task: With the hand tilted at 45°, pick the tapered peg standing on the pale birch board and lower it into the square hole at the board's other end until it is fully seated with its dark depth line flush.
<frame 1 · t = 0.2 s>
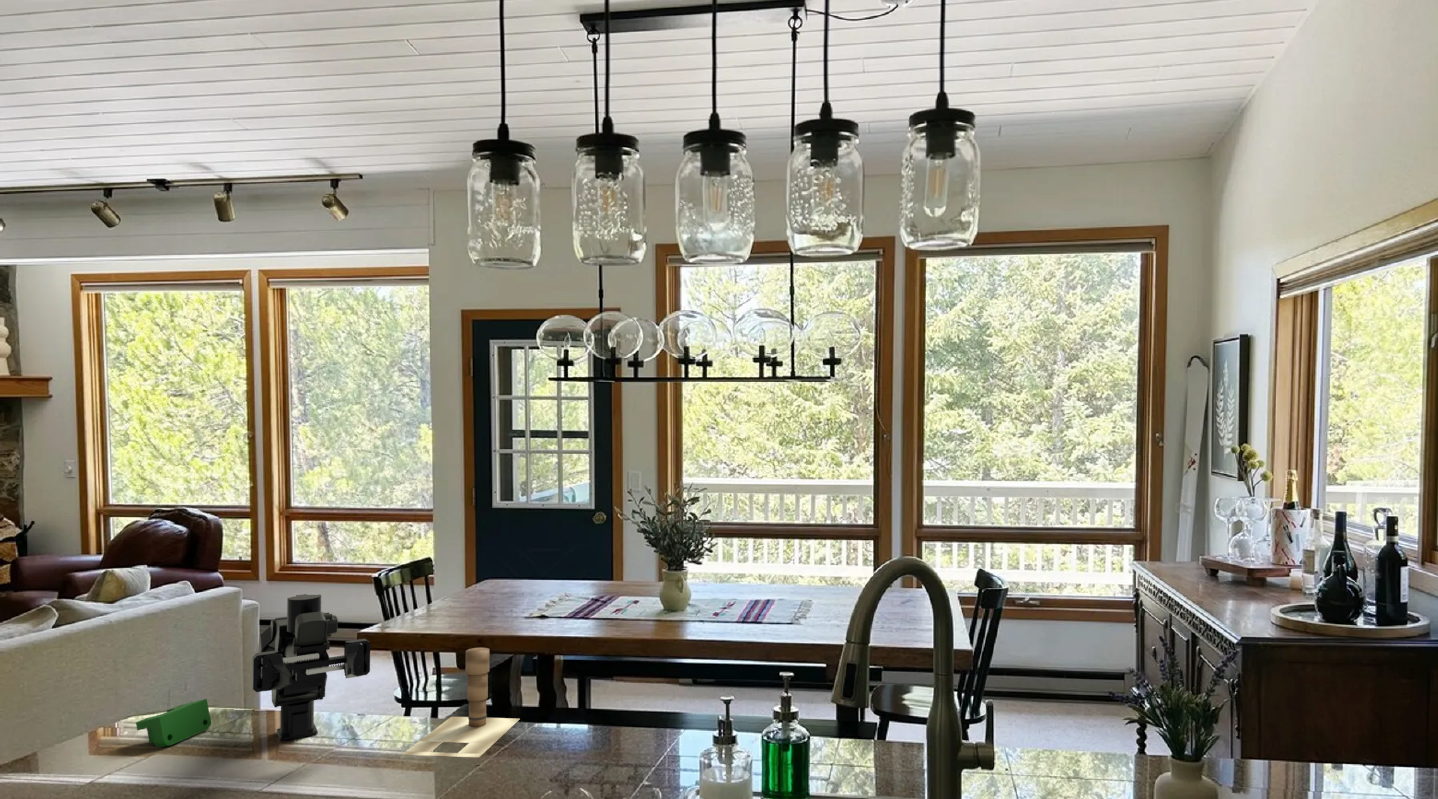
hand: (321, 675, 142), 17 cm above the counter, tool horizontal, fingers open, 9 cm apart
peg: (477, 724, 162), point 1 cm above the counter, touching board
board: (464, 743, 156), on the counter
green mounting bracket: (173, 739, 160), on the counter
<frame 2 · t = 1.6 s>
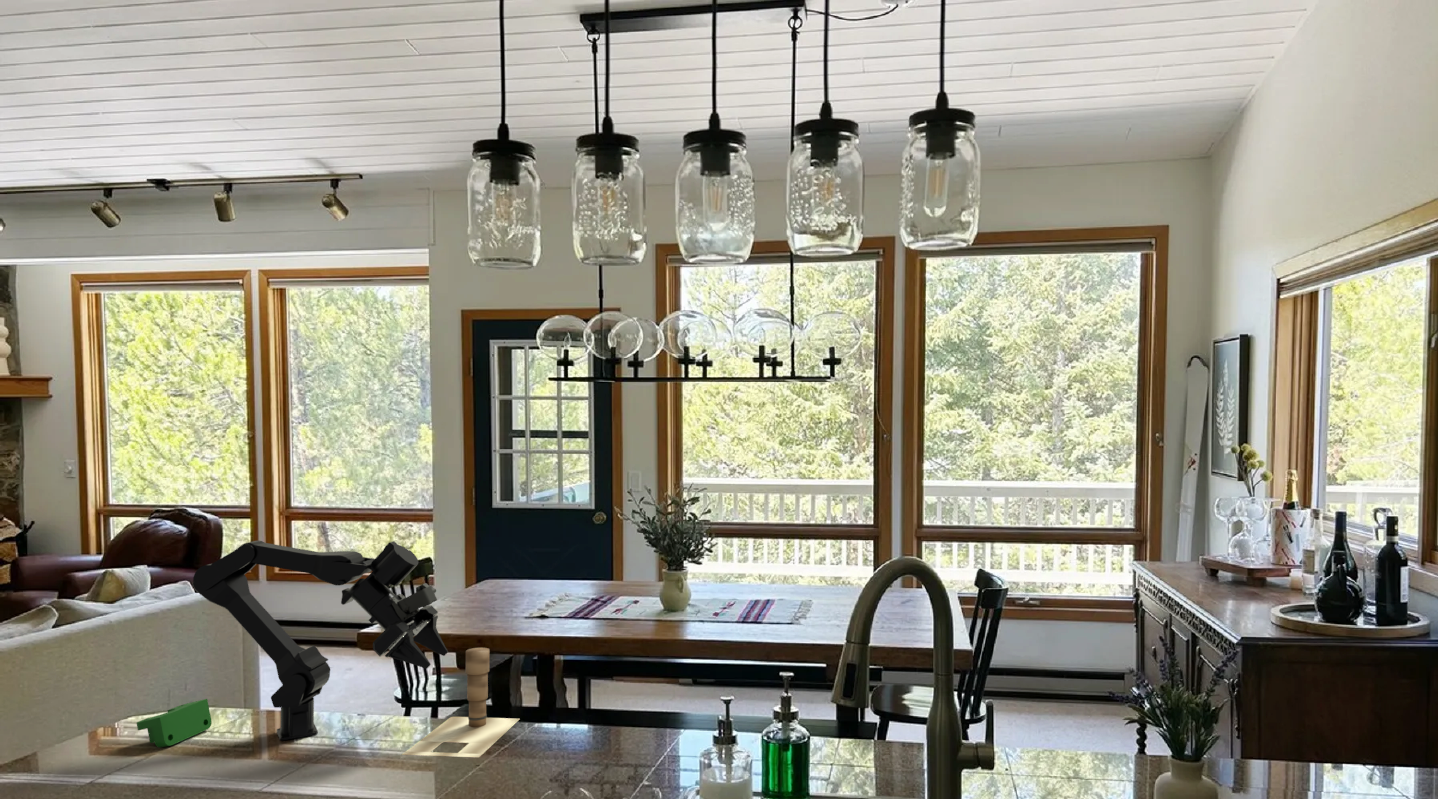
hand: (437, 660, 162), 14 cm above the counter, tool tilted 45°, fingers open, 9 cm apart
nothing on the counter moved.
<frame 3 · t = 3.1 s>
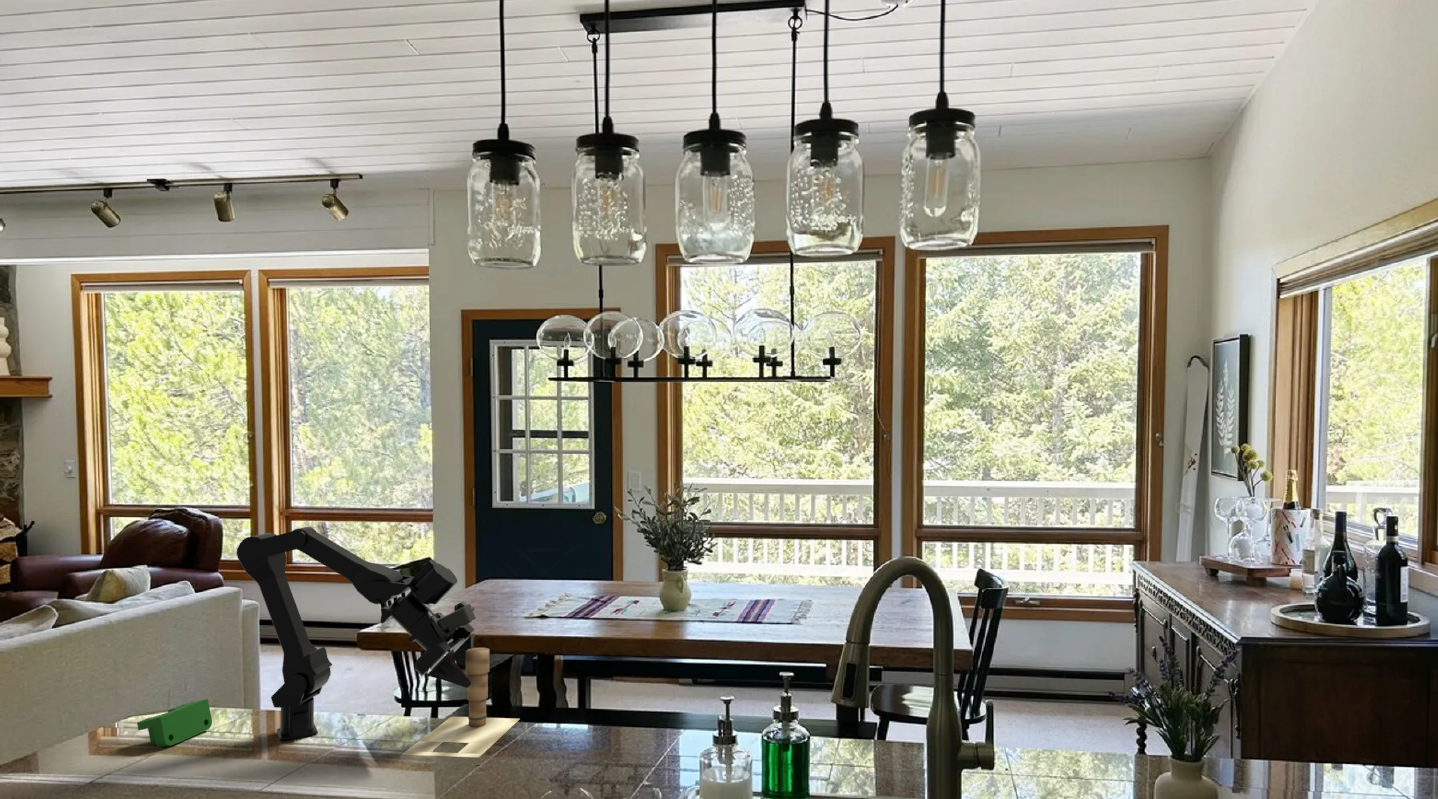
hand: (476, 678, 162), 10 cm above the counter, tool tilted 45°, fingers open, 9 cm apart
nothing on the counter moved.
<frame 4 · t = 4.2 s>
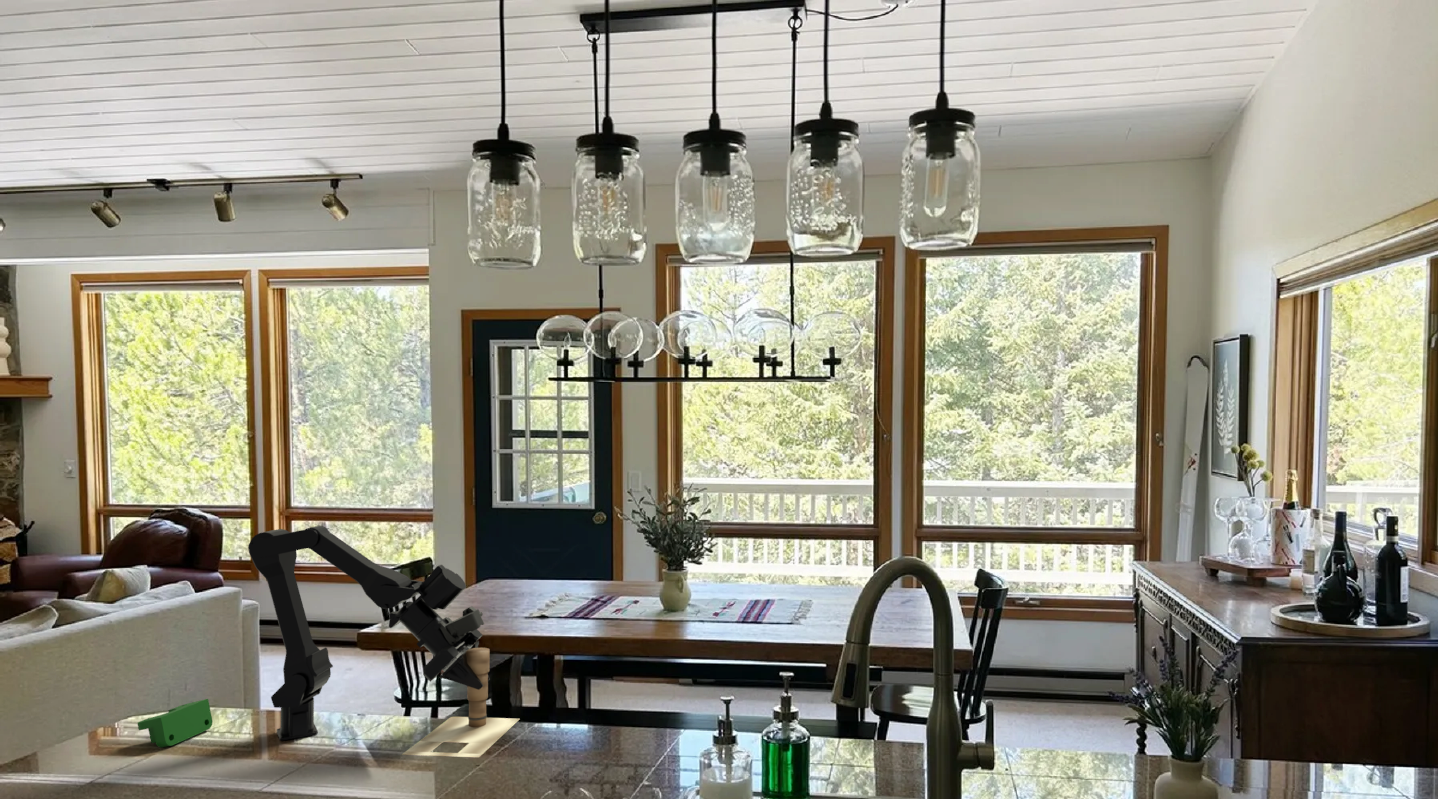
hand: (484, 684, 162), 9 cm above the counter, tool tilted 45°, fingers closed on peg, 4 cm apart
peg: (477, 724, 162), point 2 cm above the counter, touching board, gripper
everything else where it was.
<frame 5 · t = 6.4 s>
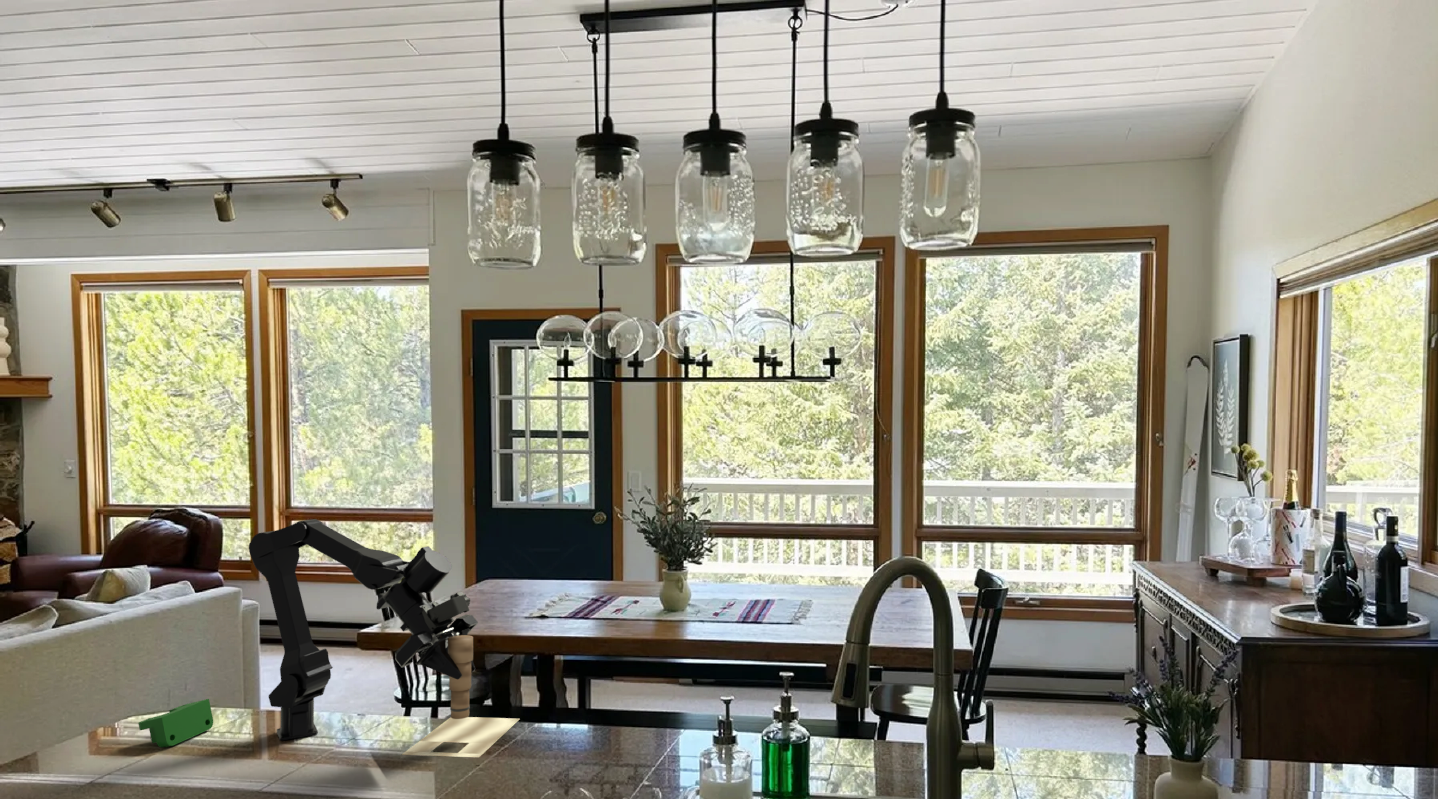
hand: (466, 674, 153), 13 cm above the counter, tool tilted 45°, fingers closed on peg, 4 cm apart
peg: (460, 716, 153), point 6 cm above the counter, touching gripper
everything else where it was.
when the fingers open (8 cm above the counter, at t = 8.5 s): peg stays where it is, resting in board.
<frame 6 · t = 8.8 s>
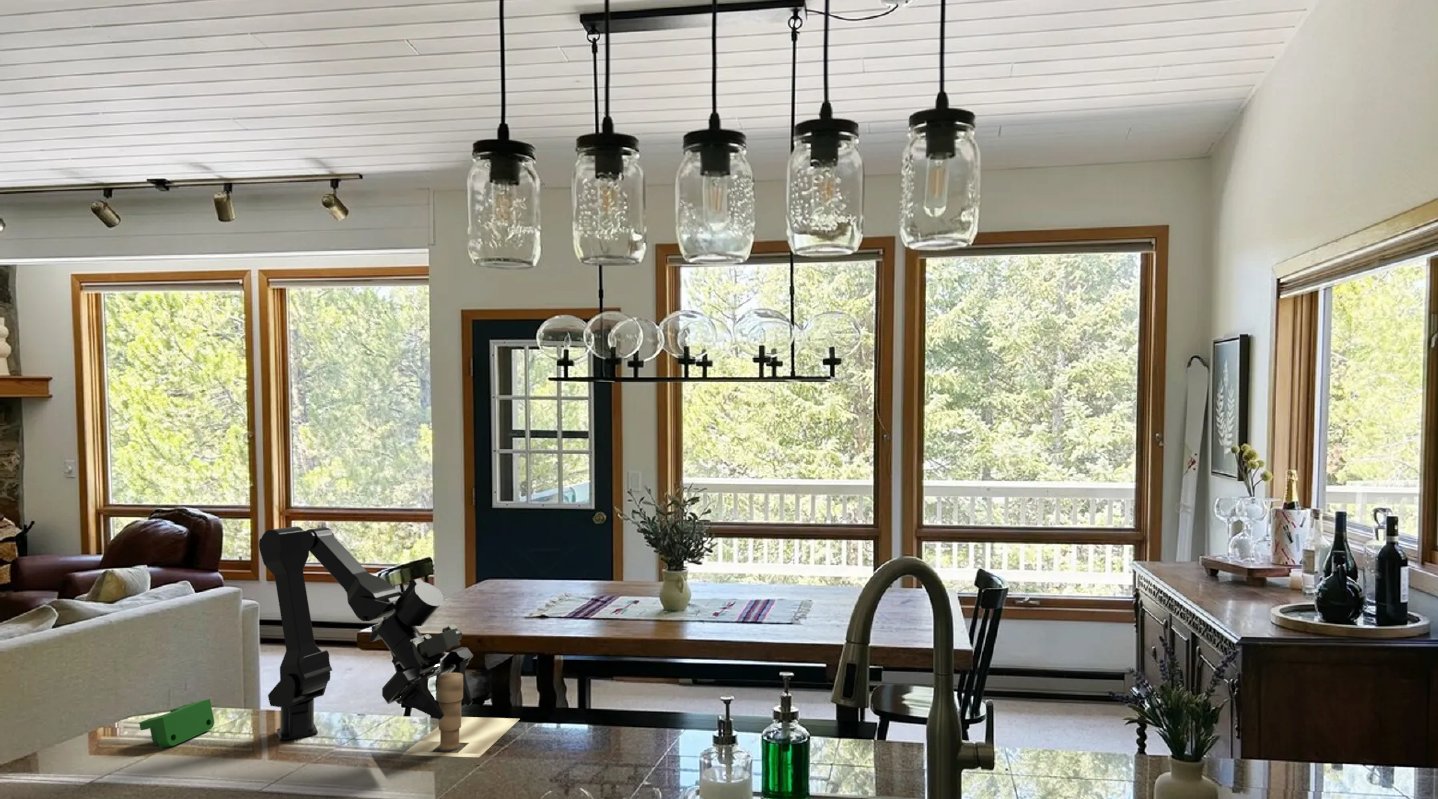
hand: (456, 710, 150), 8 cm above the counter, tool tilted 45°, fingers open, 8 cm apart
peg: (449, 756, 150), resting in board
everything else where it was.
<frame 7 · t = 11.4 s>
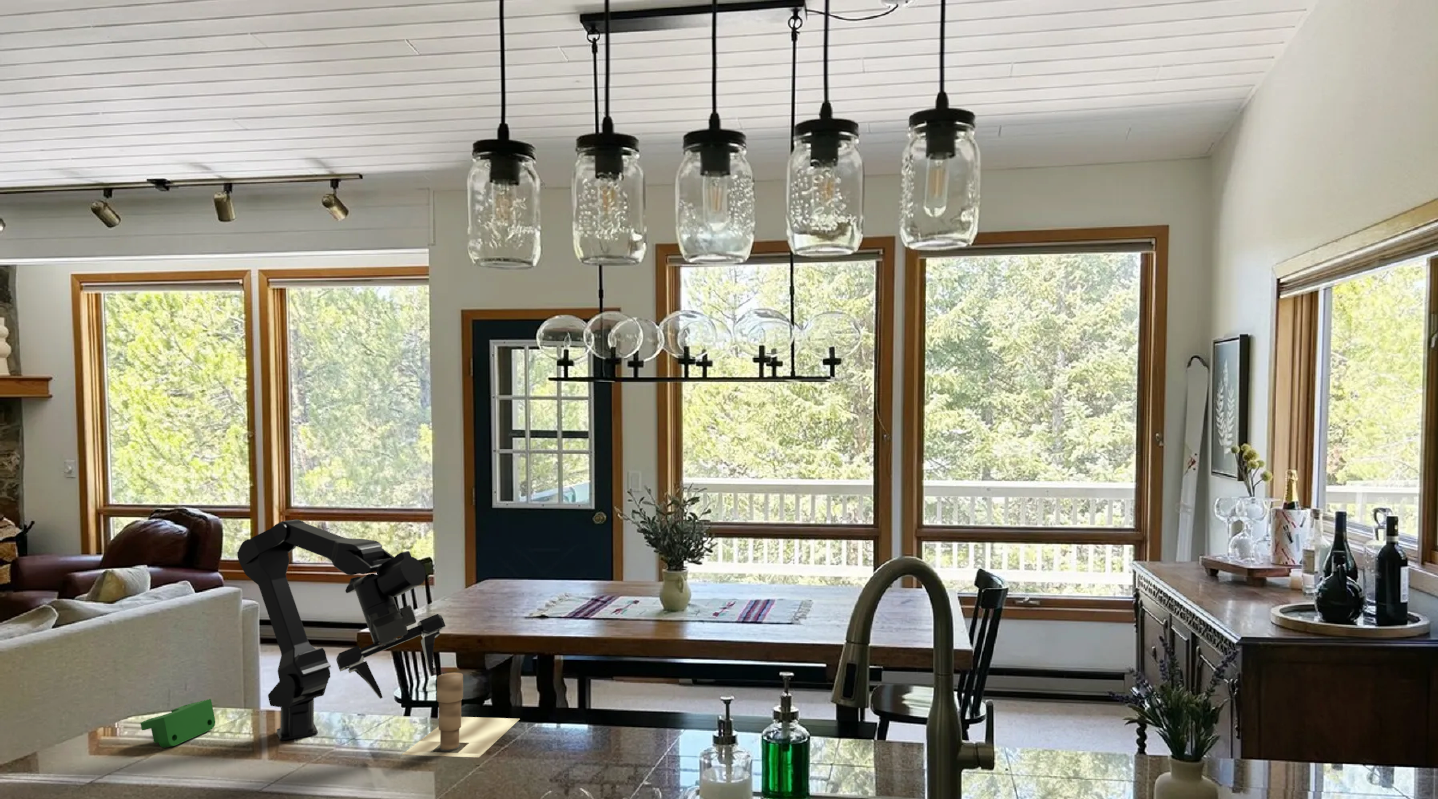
hand: (407, 686, 153), 11 cm above the counter, tool tilted 25°, fingers open, 9 cm apart
nothing on the counter moved.
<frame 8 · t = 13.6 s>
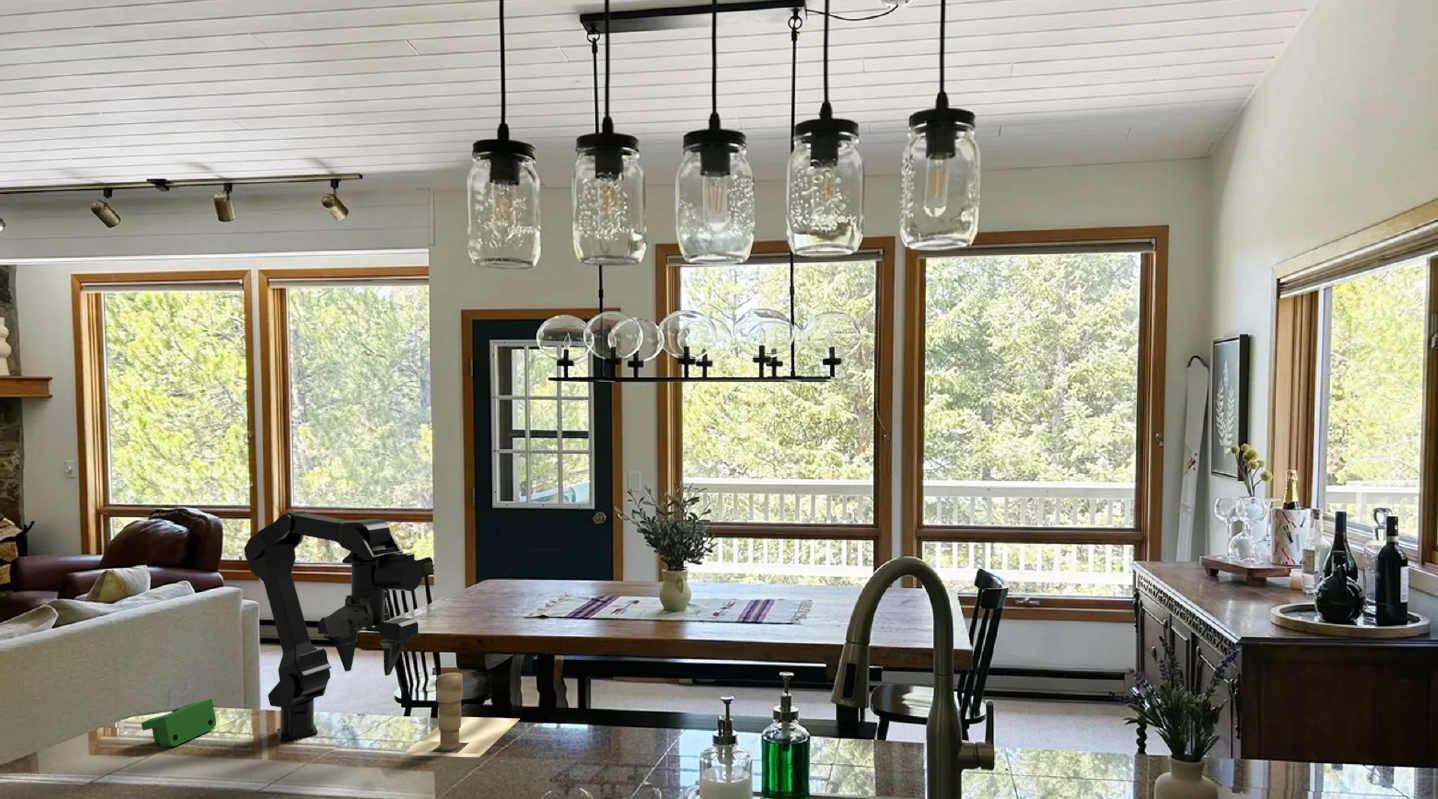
hand: (367, 673, 157), 13 cm above the counter, tool pointing down, fingers open, 9 cm apart
at the end: peg 0.0 cm from the target spot on the board, point 0.0 cm above the board's base; peg tilted 0°; the gripper is holding nothing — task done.
